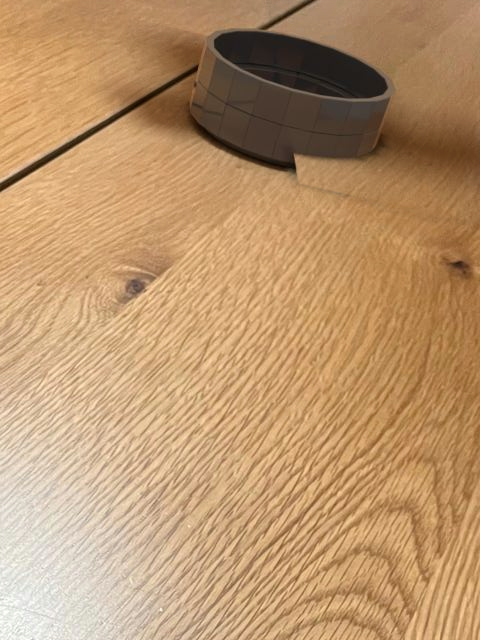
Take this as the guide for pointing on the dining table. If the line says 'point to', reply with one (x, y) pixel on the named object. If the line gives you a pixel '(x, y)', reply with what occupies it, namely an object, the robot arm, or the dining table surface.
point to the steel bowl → (288, 96)
